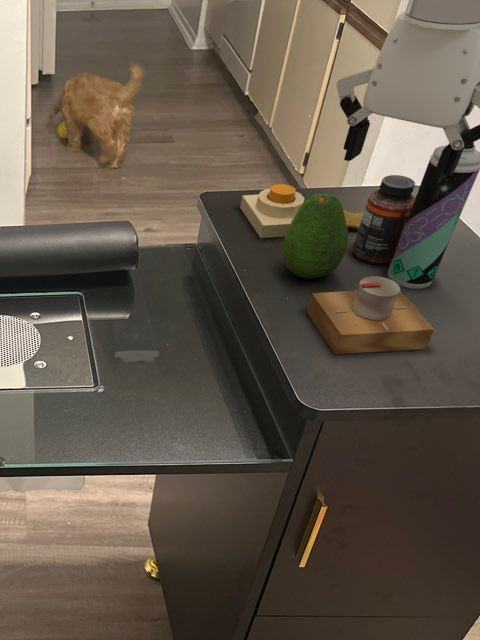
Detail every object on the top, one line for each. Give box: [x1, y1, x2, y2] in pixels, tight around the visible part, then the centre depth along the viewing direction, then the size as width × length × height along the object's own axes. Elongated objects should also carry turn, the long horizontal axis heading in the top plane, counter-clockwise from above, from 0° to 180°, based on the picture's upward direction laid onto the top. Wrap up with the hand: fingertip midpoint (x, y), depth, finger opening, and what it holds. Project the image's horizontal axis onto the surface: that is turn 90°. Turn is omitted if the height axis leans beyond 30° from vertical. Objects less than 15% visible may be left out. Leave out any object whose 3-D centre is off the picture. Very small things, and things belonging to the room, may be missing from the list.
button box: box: [239, 187, 305, 239], centre depth 112 cm, size 8×10×4 cm
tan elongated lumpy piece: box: [343, 209, 364, 231], centre depth 109 cm, size 3×14×3 cm
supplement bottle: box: [352, 174, 416, 265], centre depth 100 cm, size 6×6×11 cm
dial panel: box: [306, 289, 435, 355], centre depth 90 cm, size 11×9×3 cm
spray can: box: [386, 142, 480, 290], centre depth 93 cm, size 6×6×20 cm
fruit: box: [282, 192, 349, 280], centre depth 97 cm, size 8×8×12 cm
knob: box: [352, 275, 401, 320], centre depth 88 cm, size 4×4×4 cm
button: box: [268, 183, 297, 204], centre depth 110 cm, size 4×4×2 cm
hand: (394, 167), depth 83 cm, fingers open, 9 cm apart
